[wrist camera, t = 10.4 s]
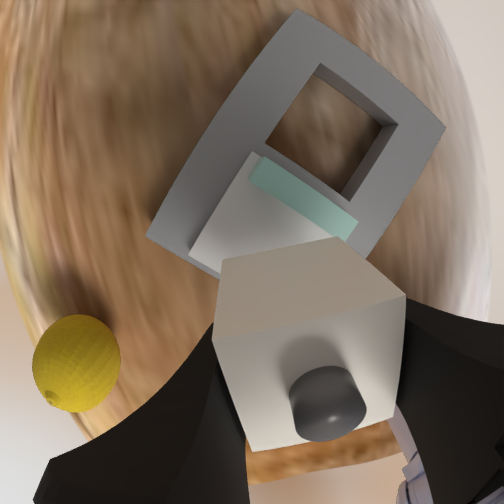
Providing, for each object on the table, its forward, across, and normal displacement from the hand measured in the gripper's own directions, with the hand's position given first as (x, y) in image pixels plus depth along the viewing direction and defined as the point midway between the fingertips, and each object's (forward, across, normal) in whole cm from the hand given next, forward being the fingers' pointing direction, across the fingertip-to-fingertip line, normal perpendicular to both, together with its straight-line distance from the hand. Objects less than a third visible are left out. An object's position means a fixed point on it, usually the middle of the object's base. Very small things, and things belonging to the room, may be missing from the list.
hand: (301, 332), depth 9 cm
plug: (+2, 0, 0) cm, 2 cm away
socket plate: (+9, -3, -4) cm, 10 cm away
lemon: (+9, +13, +3) cm, 16 cm away
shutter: (+7, 0, -2) cm, 7 cm away
